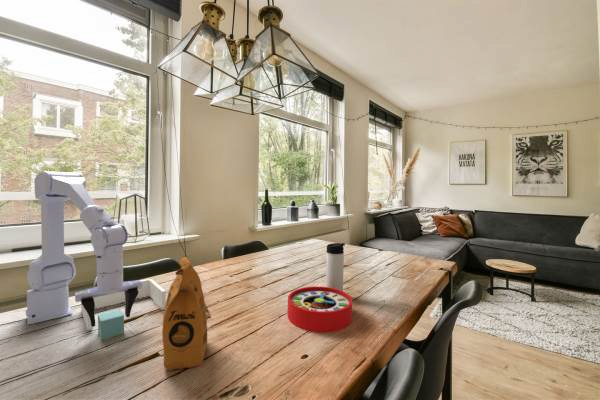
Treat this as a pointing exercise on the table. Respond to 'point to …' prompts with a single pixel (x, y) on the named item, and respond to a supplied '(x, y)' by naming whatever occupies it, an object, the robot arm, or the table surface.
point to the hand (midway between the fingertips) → (110, 320)
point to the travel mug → (335, 266)
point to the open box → (147, 289)
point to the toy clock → (319, 309)
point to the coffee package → (184, 320)
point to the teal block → (110, 324)
